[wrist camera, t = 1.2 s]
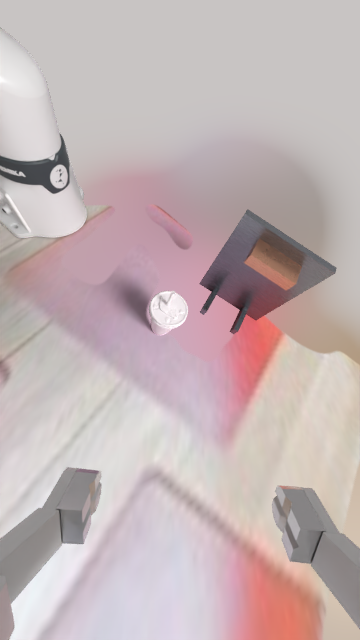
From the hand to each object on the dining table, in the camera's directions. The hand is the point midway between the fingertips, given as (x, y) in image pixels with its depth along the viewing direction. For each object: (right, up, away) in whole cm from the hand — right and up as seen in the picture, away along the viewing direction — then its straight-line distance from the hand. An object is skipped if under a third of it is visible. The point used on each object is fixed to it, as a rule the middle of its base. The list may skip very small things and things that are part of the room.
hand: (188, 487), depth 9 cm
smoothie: (-5, +6, +32) cm, 33 cm away
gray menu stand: (+9, +9, +37) cm, 39 cm away
